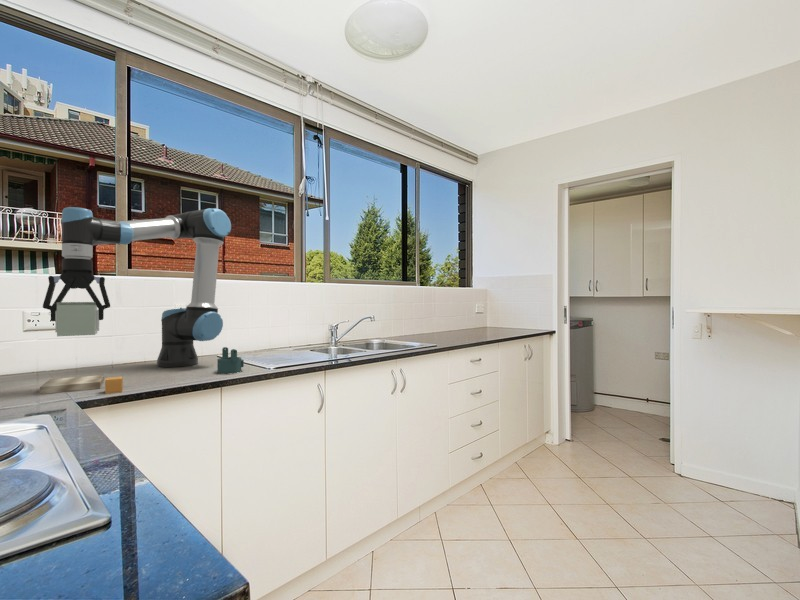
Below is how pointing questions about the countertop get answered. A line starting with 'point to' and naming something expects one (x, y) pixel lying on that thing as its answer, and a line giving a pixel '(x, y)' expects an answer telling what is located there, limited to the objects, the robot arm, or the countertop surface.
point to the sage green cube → (76, 318)
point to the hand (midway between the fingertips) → (78, 331)
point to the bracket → (229, 362)
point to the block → (113, 385)
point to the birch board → (72, 384)
